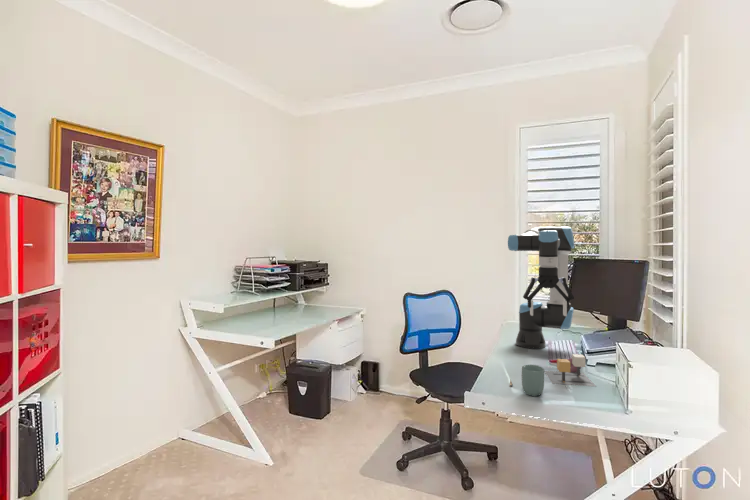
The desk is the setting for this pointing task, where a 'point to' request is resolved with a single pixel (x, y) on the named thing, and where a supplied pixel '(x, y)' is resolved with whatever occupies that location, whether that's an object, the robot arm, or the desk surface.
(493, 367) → the desk surface
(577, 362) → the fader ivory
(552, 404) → the desk surface
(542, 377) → the cup
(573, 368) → the video game controller
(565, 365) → the fader amber
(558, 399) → the desk surface
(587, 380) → the mixer console
